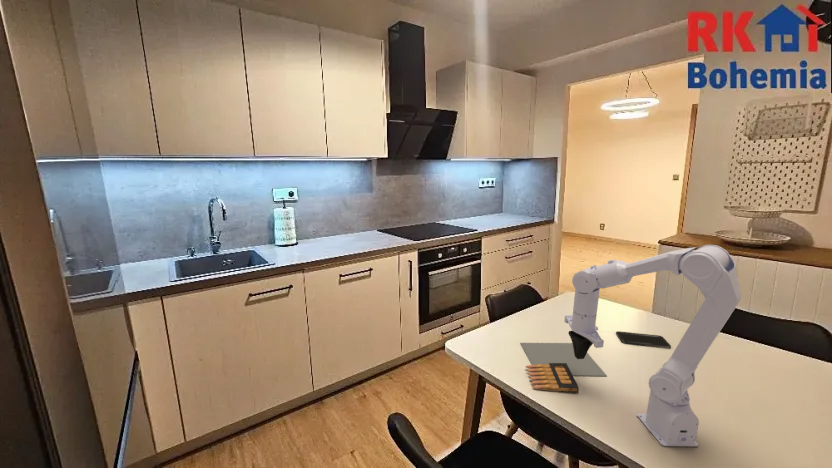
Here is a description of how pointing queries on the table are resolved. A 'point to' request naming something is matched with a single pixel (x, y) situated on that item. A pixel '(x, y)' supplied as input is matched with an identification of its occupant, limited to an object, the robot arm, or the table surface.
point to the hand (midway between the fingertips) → (579, 357)
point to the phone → (643, 340)
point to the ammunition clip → (553, 377)
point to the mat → (561, 358)
